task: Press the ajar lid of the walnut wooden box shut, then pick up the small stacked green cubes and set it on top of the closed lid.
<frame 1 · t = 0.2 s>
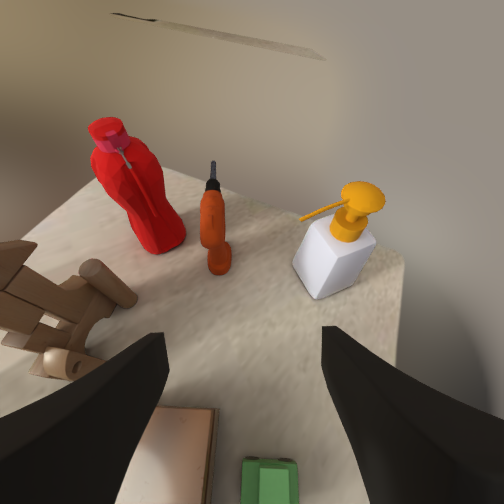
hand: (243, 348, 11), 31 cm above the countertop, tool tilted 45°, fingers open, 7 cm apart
wooden box: (166, 472, 31), on the countertop
lid: (147, 487, 26), point 7 cm above the countertop, hinge at 15.0°
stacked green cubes: (268, 477, 31), on the countertop
water bottle: (165, 239, 52), on the countertop
toy drill: (220, 241, 52), on the countertop
soap bottle: (311, 278, 47), on the countertop
wooden toy: (104, 332, 41), on the countertop
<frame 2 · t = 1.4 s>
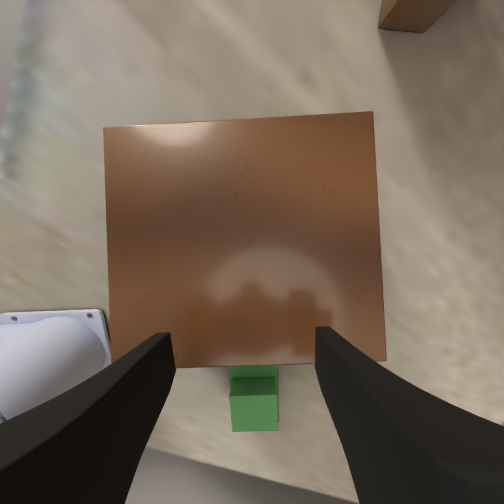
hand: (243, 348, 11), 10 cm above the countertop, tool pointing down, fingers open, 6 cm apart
lid: (242, 241, 13), point 7 cm above the countertop, hinge at 15.0°
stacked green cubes: (254, 363, 23), on the countertop
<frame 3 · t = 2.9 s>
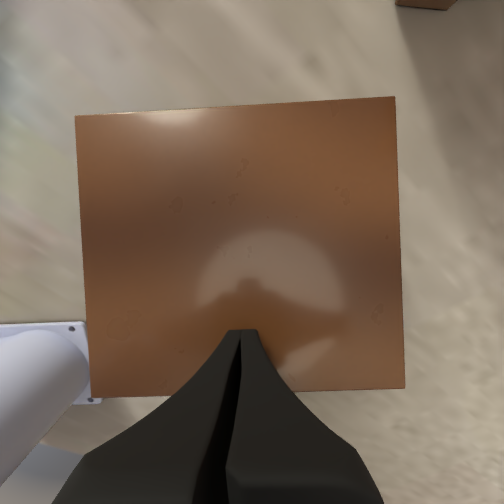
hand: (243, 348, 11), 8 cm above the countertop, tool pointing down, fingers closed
lid: (239, 251, 11), point 7 cm above the countertop, hinge at 12.9°
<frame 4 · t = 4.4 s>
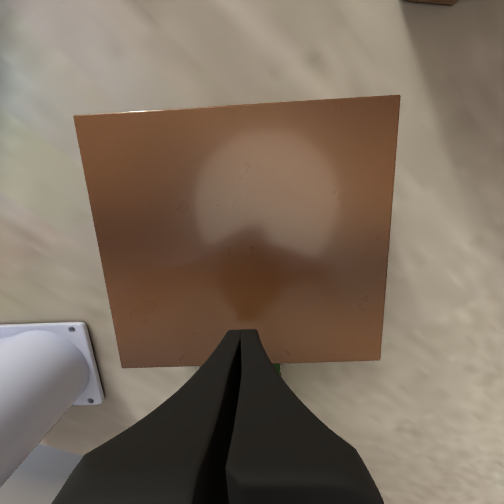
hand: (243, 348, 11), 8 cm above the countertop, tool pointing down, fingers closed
lid: (242, 248, 12), point 5 cm above the countertop, hinge at 1.5°
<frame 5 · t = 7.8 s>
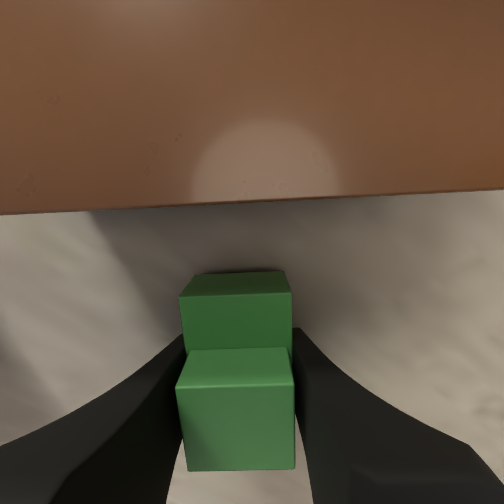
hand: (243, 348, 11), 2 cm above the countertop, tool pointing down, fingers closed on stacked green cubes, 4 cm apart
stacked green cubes: (244, 329, 12), on the countertop, touching gripper
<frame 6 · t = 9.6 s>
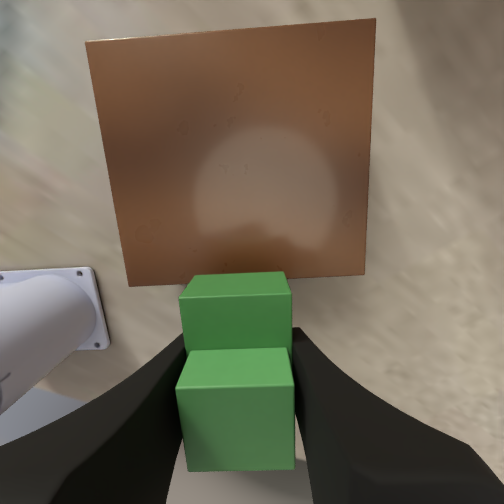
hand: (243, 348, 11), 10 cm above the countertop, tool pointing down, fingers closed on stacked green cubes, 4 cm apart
lid: (237, 169, 14), point 5 cm above the countertop, hinge at 1.5°
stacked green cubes: (244, 329, 12), point 9 cm above the countertop, touching gripper
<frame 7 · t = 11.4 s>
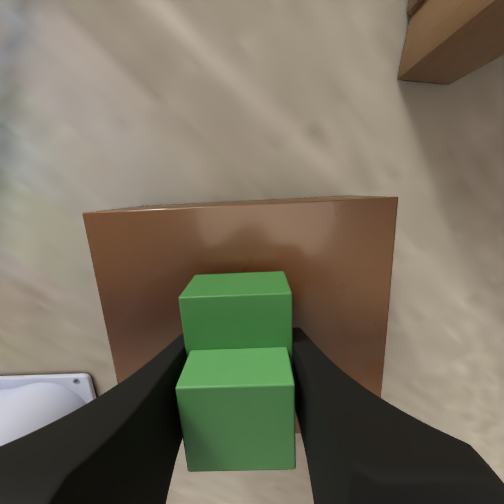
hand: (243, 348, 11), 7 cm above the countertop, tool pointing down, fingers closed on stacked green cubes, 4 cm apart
wooden box: (248, 286, 18), on the countertop
lid: (245, 329, 13), point 5 cm above the countertop, hinge at 0.9°, touching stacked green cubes
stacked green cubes: (244, 329, 12), point 6 cm above the countertop, touching gripper, lid
when the fingers open (7 cm above the countertop, at t = 11.6 s): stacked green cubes stays where it is, resting on lid.
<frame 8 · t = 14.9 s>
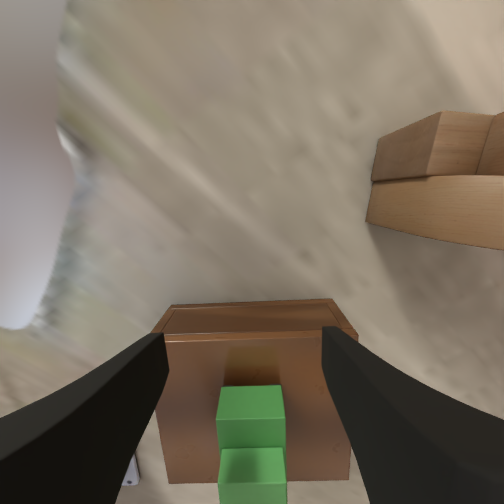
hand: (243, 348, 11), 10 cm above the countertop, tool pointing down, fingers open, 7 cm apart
wooden box: (254, 361, 23), on the countertop
lid: (254, 412, 18), point 5 cm above the countertop, hinge at -0.2°, touching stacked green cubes, wooden box
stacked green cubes: (253, 414, 18), point 6 cm above the countertop, touching lid
wooden toy: (462, 192, 19), on the countertop
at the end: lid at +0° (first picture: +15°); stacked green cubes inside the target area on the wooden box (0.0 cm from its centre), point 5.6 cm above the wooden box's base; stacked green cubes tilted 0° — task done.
